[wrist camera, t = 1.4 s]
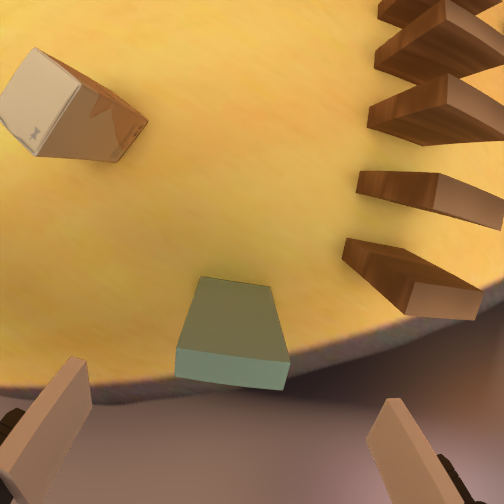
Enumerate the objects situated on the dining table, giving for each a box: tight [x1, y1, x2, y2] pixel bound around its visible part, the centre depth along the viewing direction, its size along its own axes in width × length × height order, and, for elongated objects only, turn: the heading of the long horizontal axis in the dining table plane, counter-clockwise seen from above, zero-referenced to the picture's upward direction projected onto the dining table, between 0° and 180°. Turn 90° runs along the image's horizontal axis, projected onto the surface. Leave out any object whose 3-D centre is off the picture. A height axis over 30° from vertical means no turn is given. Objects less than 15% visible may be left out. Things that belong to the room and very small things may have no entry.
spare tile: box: [174, 276, 291, 390], centre depth 20 cm, size 2×6×11 cm, turn 80°
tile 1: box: [342, 238, 484, 320], centre depth 20 cm, size 2×6×11 cm, turn 81°
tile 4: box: [374, 0, 504, 85], centre depth 16 cm, size 2×6×11 cm, turn 80°
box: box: [0, 47, 148, 162], centre depth 16 cm, size 5×4×11 cm
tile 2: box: [356, 171, 504, 231], centre depth 19 cm, size 2×6×11 cm, turn 80°
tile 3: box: [367, 73, 504, 146], centre depth 17 cm, size 2×6×11 cm, turn 80°
